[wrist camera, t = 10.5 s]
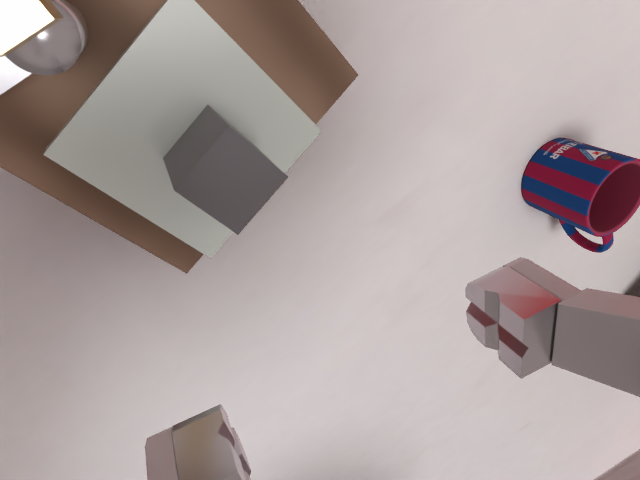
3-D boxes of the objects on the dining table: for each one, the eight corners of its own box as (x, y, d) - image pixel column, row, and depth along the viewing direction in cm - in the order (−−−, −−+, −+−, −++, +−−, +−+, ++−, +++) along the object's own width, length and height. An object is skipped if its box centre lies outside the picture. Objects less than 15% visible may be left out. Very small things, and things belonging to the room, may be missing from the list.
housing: (180, 251, 30) (186, 273, 27) (-52, 112, 22) (-73, 125, 19) (337, 69, 29) (358, 74, 26) (152, -151, 20) (158, -172, 18)
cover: (207, 249, 27) (229, 304, 22) (46, 147, 21) (26, 190, 16) (314, 126, 26) (362, 154, 21) (176, -14, 21) (197, -21, 16)
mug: (579, 127, 40) (655, 146, 34) (571, 219, 45) (636, 248, 40) (521, 153, 38) (590, 178, 33) (519, 245, 44) (579, 279, 38)
